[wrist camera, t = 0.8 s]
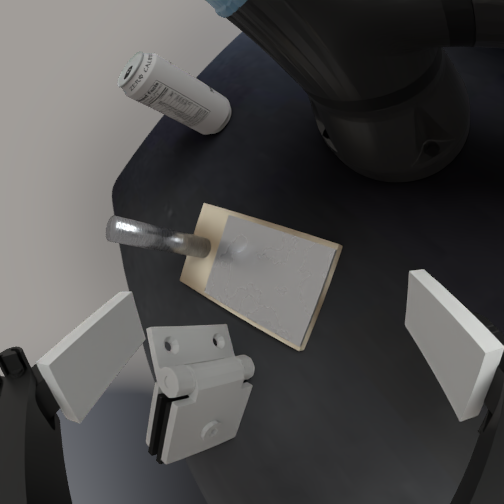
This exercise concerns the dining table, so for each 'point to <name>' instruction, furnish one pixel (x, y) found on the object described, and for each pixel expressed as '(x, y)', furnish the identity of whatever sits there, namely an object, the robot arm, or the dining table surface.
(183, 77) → the energy drink can
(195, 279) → the mounting board
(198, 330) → the hinge
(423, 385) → the dining table surface
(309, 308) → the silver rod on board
